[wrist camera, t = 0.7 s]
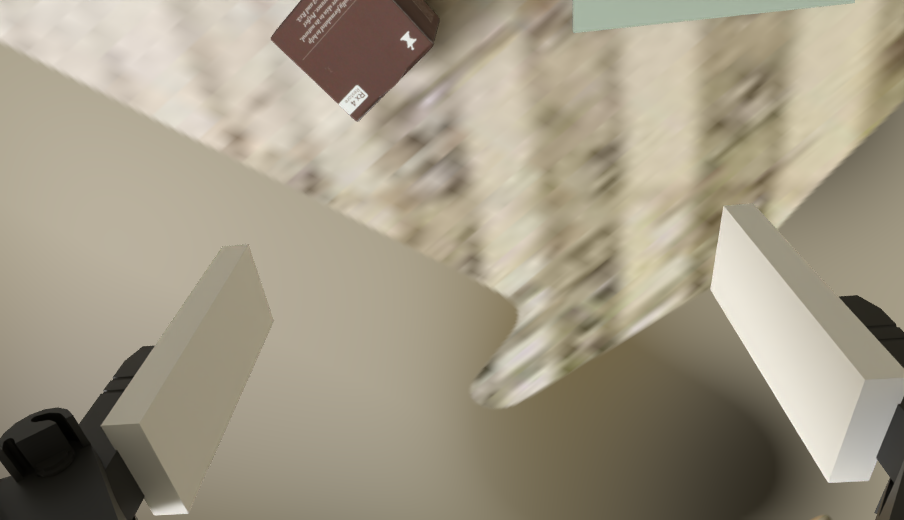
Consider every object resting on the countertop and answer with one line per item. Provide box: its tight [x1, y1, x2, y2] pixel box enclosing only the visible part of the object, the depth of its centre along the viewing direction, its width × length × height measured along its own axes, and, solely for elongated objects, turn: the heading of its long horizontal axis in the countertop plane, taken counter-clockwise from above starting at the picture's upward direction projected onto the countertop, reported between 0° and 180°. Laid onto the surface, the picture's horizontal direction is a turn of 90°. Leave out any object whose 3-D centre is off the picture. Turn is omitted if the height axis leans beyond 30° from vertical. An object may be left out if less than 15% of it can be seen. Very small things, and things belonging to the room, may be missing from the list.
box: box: [271, 0, 439, 121], centre depth 33 cm, size 6×6×7 cm
